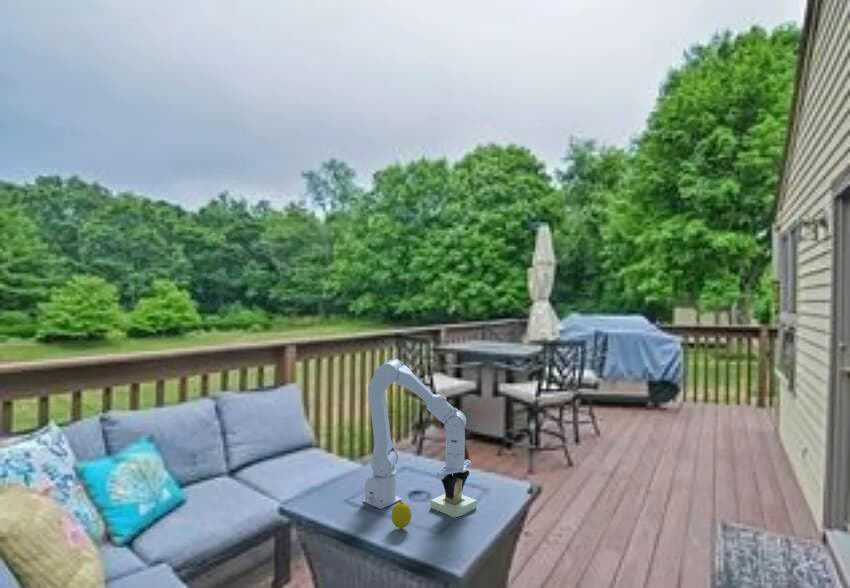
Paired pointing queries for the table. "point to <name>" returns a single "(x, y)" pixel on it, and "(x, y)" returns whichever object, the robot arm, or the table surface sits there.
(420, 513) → the table surface
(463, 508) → the socket block
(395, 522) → the lemon
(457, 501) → the peg
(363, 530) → the table surface
